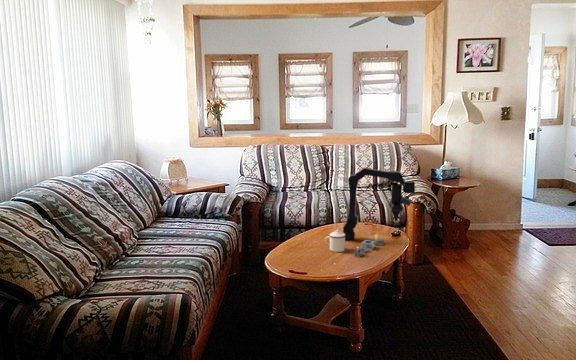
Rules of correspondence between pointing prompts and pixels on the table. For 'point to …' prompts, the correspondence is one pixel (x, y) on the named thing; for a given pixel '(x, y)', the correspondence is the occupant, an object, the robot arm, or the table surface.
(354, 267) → the table surface
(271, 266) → the table surface
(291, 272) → the table surface
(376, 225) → the table surface
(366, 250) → the link
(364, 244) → the end link
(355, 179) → the robot arm
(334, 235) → the teacup with lid
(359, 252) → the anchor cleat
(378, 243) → the grey peg holder
